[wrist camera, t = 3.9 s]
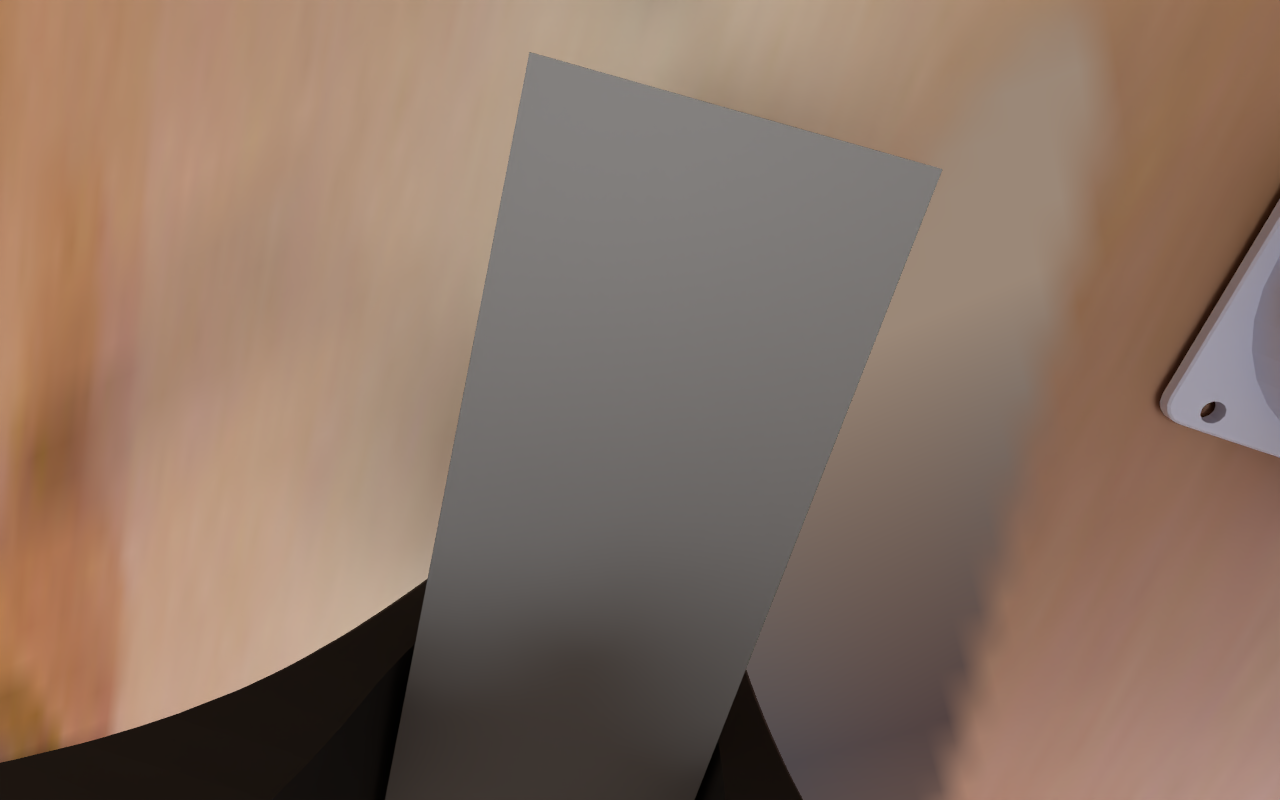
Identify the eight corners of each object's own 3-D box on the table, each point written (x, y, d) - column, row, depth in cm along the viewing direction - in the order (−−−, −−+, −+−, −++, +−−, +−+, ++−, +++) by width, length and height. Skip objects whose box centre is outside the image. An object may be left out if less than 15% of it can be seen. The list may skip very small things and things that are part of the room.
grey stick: (856, 158, 12) (941, 169, 7) (587, 922, 18) (536, 1201, 13) (610, 87, 12) (528, 51, 7) (427, 873, 18) (320, 1133, 13)
